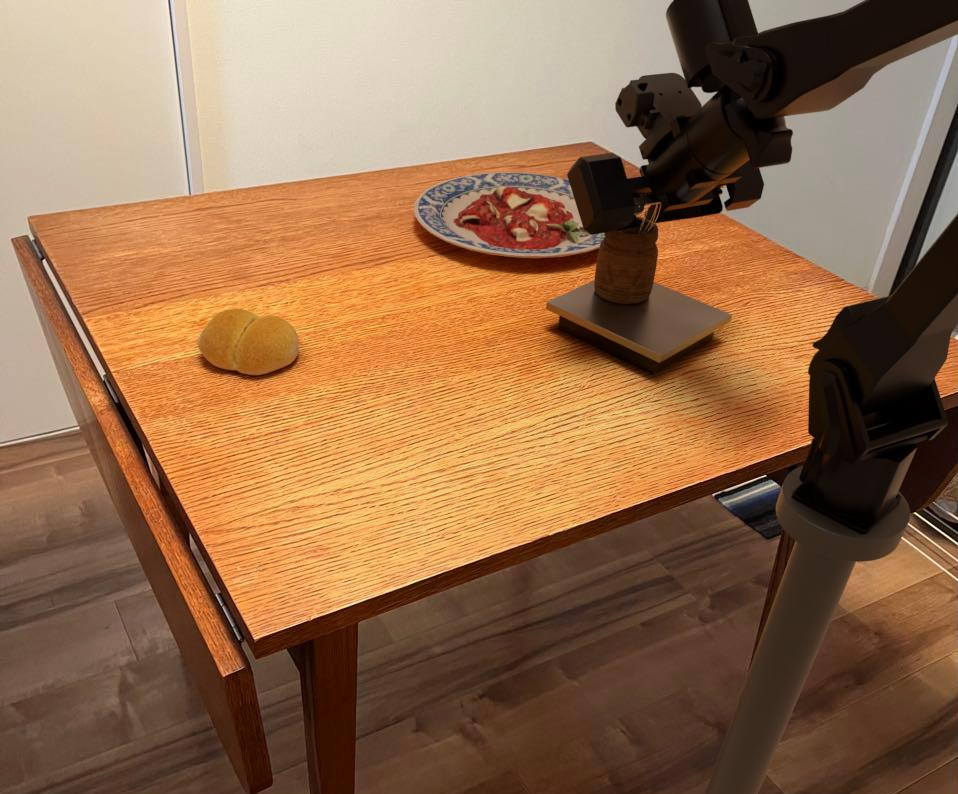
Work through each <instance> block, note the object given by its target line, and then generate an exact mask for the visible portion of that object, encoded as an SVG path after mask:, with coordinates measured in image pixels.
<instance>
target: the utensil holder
mask: <svg viewBox="0 0 958 794" xmlns="http://www.w3.org/2000/svg"><path fill="white" fill-rule="evenodd" d="M622 163H623V166H624V170H625V171H626V166H625V165H626V164H625V161H624V160H622ZM657 205H658V204H657ZM657 205H656V207H657ZM645 207H646V208H645V211H644V213H645V212H646V211H648V210H647V209H648V208H649V207H650V205H648V206H645ZM660 207H661V205H660ZM655 210H657V208H655ZM659 211H660V209H659ZM654 213H655V214H656V212H655V211H654ZM646 214H647V213H646ZM658 214H659V213H658ZM653 215H654V214H653ZM644 216H645V214H643V217H642V216H638V215H636V217H637V220H638V224H639V228H635V229H629V230H623V231H618V232H605V233H604V235H605V238H604V239H603V240H602V242H601V244H600V246H599V248H598V249H597V250H598V251H597V257H596V263H595V272H594V273H595V274H594V287H595V291H596V293H597V294H598V295H599V296H600V297H601V298H603V299H605V300H607V301H610V302H614V303H619V304H636V303H640V302H642V301H644V300H646V299H647V298H648V297H649V296H650V294H651V291H652V287H653V283H654V282H655V278H656V273H657V272H656V271H657V265H658V258H659V249H658V245H657V244H656V243H657V242H658V239H659V227H658V225H657V223H655V222H656V221H655V222H652V221H651V220H648V219H645V218H646V216H645V217H644ZM652 217H653V216H652ZM654 217H655V216H654ZM657 217H658V216H657ZM651 219H652V218H651ZM653 220H654V219H653ZM656 220H657V218H656Z"/></svg>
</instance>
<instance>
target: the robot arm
mask: <svg viewBox="0 0 958 794" xmlns="http://www.w3.org/2000/svg"><path fill="white" fill-rule="evenodd" d="M665 19H666V23H667V25H668V28H669V32H670V35H671V39H672V42H673V45H674V48H675V52H676V55H677V58H678V62H679V65H680V67H681V71H682V75H683V76H682V75H681V74H679V73H676V72H666V73H665V72H664V73H656V74H646V75H641V76H640V77H639V78H638V79H631V80H629V83H628V84H627V85H626V86H625V87H622V88H621V90H620V91H619V93H618V96H617V99H616V101H615V103H614V106H615V108H614V109H615V112H616V114H617V115H618V117H619V118H620V120H621V121H622V123H623V125H624V127H625V128H635V127H636V128H637V130H638V131H639V133H640V134H641V136H642V138H644V140H643V142H641V143H640V145H638V149H639V153H640V156H641V158H642V160H647V163H648V164H642V165H641V166H640V167H639V168H638V171H639V174H640V176H635V177H629V178H628V176H627V173H626V169H625V170H624V166H623V163H622V161H623V160H622V157H621V156H619V155H618V154H616V153H614V152H607V153H600V154H599V153H598V154H592V155H584V156H579V157H578V159H576V160H575V162H574V163H573V164H572V165H571V166H570V167H569V169H568V171H567V173H566V176H567V179H568V180H569V183H570V186H571V189H572V193H573V196H574V199H575V202H576V206H577V209H578V212H579V215H580V219H581V222H582V225H583V228H584V230H585V231H586V232H588V233H589V234H591V235H594V234H600V233H605V232H618V231H623V230H629V229H635V228H639V224H638V220H637V217H638V216H639V215H641V214H642V213H643V212H644V214H645V216H646V218H645V216H644V214H643V217H644V218H645V219H648V220H651V221H652V222H655V221H656V222H655V224H661V223H667V222H674V221H675V222H676V221H680V220H681V221H683V220H690V219H696V218H703V217H708V216H714V215H719V214H721V213H722V212H723V209H724V208H725V211H726V212H729V211H736V210H741V209H747V208H750V207H751V206H753V205H754V204H755V203H757V202H758V201H759V200H761V199H762V195H763V192H764V187H765V181H764V178H763V175H762V172H761V169H762V168H767V167H774V166H780V165H786V164H789V163H790V162H791V160H792V154H793V146H792V138H793V136H794V135H793V134H794V131H793V129H791V128H788V127H787V123H786V119H785V117H791V116H799V115H805V114H813V113H821V112H828V111H831V110H832V109H835V108H836V107H837V106H839V105H841V104H842V103H844V102H845V101H846V100H848V99H850V98H851V97H852V96H854V95H855V94H857V93H858V92H859V91H861V90H863V89H864V88H865V87H866V85H867V84H868V83H869V81H870V80H871V79H872V78H873V76H874V75H875V74H876V73H878V72H880V71H881V70H883V69H884V68H885V67H887V66H888V65H891V64H893V63H896V62H897V61H900V60H902V59H904V58H907V57H909V56H911V55H914V54H916V53H918V52H921V51H922V50H925V49H927V48H930V47H932V46H935V45H937V44H940V43H942V42H944V41H946V40H949V39H951V38H953V37H955V36H958V0H862V1H861V2H859V3H857V4H855V5H853V6H851V7H849V8H848V9H845V10H843V11H840V12H836V13H832V14H828V15H824V16H819V17H815V18H814V17H813V18H809V19H805V20H798V21H794V22H791V23H787V24H784V25H783V24H782V25H780V26H776V27H773V28H769V29H766V30H762V31H760V32H759V31H758V28H757V25H756V22H755V18H754V15H753V12H752V9H751V5H750V2H749V0H673V1H671V2H670V4H669V5H668V7H666V12H665ZM692 88H701V90H702V92H703V93H706V94H713V93H715V94H713V95H712V97H710V98H709V99H708V101H706V102H705V103H704V104H703V105H702V103H701V101H700V100H699V98H698V96H697V95H696V94H695V92H694V91H693V89H692ZM760 168H761V169H760ZM725 187H726V190H727V193H728V197H729V198H728V199H726V200H725V201H723V202H722V199H721V195H722V194H723V192H724V191H723V189H724V188H725ZM657 204H658V205H657ZM656 205H657V207H656ZM660 205H661V207H660ZM723 205H724V206H723ZM648 206H649V208H648ZM645 207H647V209H646V210H645ZM655 208H657V210H655ZM659 209H660V211H659ZM644 210H645V211H646V212H645V211H644ZM647 210H648V211H647ZM654 211H655V212H656V214H655V213H654ZM646 213H647V214H646ZM658 213H659V214H658ZM653 214H654V215H653ZM636 215H637V217H636ZM652 216H653V217H652ZM654 216H655V217H654ZM657 216H658V217H657ZM651 218H652V219H651ZM656 218H657V220H656ZM653 219H654V220H653ZM906 275H907V276H906V277H905V278H904V279H903V280H902V281H901V283H900V284H899V285H898V286H897V288H896V289H895V290H894V292H893V293H892V294H890V295H888V296H884V297H880V298H875V299H870V300H867V301H862V302H857V303H853V304H850V305H846V306H844V307H843V308H841V310H840V311H839V312H838V313H837V314H836V316H835V317H834V319H833V321H832V323H831V325H830V327H829V328H828V330H827V332H826V333H825V334H824V335H823V336H822V337H821V338H820V339H818V340H816V341H814V342H813V343H812V347H813V349H817V351H816V352H815V353H814V355H813V356H812V358H811V360H810V362H809V366H808V369H807V374H808V375H809V380H808V418H807V419H808V420H807V433H808V435H809V436H811V437H812V439H811V442H810V444H809V447H808V450H807V453H806V456H805V459H804V462H803V465H802V466H803V468H802V471H801V474H800V477H799V478H800V481H801V482H803V483H802V484H801V485H800V486H799V487H798V488H796V489H795V490H794V491H793V493H792V498H793V499H794V500H796V501H798V502H799V503H801V504H803V505H805V506H807V507H809V508H811V509H813V510H815V511H817V512H819V513H821V514H822V515H824V516H826V517H828V518H830V519H832V520H834V521H836V522H838V523H840V524H842V525H844V526H846V527H847V528H849V529H851V530H853V531H855V532H857V533H859V534H863V535H864V534H867V533H869V532H870V531H871V530H872V529H873V528H874V527H875V526H876V525H877V524H878V523H879V522H880V521H881V520H882V519H883V518H884V517H885V516H886V515H887V514H888V513H890V512H891V511H892V510H893V509H894V508H895V507H896V506H897V505H898V504H899V503H900V501H901V499H902V497H901V495H900V494H898V491H899V492H900V489H901V486H902V484H903V481H904V480H905V477H906V475H907V472H908V470H909V468H910V465H911V463H912V460H913V458H914V457H915V454H916V452H917V449H918V445H917V443H920V442H923V441H931V440H933V439H935V438H936V437H937V436H938V435H939V434H940V433H941V432H942V431H943V430H944V429H945V428H946V427H947V426H948V425H949V420H948V415H947V413H946V410H945V407H944V404H943V401H942V396H941V394H940V390H939V387H938V384H937V381H936V376H937V375H938V374H939V372H940V370H941V369H942V367H943V366H944V365H945V363H946V361H947V359H948V355H949V349H950V343H951V337H952V334H953V332H954V330H955V329H956V327H958V212H957V213H956V215H954V216H953V219H951V221H950V222H949V223H948V224H947V226H946V227H945V228H944V229H943V231H941V233H940V234H939V236H938V237H937V238H935V241H934V242H933V243H932V244H931V245H930V247H929V248H928V249H927V250H926V252H924V254H923V256H922V257H921V258H920V259H919V261H918V262H917V263H916V264H915V266H914V267H913V268H912V269H911V270H910V272H909V273H908V274H906Z"/></svg>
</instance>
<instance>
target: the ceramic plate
mask: <svg viewBox="0 0 958 794" xmlns="http://www.w3.org/2000/svg"><path fill="white" fill-rule="evenodd" d="M413 205H414V206H413V211H414V216H415V218H416V220H417V222H418V223H419V224H420V226H421V227H422V228H423V229H424V230H426V231H427V232H428V233H429V234H431V235H432V236H435V237H436V238H438V239H440V240H442V241H444V242H446V243H448V244H451V245H453V246H457V247H459V248H462V249H465V250H468V251H472V252H476V253H477V252H478V253H482V254H486V255H492V256H500V257H507V258H508V257H509V258H521V259H546V258H563V257H569V256H575V255H579V254H580V255H581V254H584V253H588V252H592V251H595V250H599V246H600V244H601V242H602V240H603V239H604V238H605V235H604V233H600V234H594V235H591V234H589V233H588V232H586V231H585V230H584V228H583V225H582V222H581V219H580V215H579V212H578V209H577V206H576V202H575V199H574V196H573V193H572V189H571V186H570V183H569V180H568V178H563V177H559V176H554V175H549V174H540V173H532V172H531V173H530V172H514V171H513V172H512V171H511V172H510V171H509V172H508V171H507V172H506V171H499V172H496V171H495V172H484V173H483V172H482V173H474V174H468V175H467V174H466V175H463V176H458V177H454V178H449V179H447V180H444V181H440V182H439V183H436V184H434V185H432V186H430V187H429V188H426V190H424V191H423V192H421V194H420V195H419V196H418V197H417V199H416V200H415V202H414V204H413Z"/></svg>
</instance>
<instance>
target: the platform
mask: <svg viewBox="0 0 958 794" xmlns="http://www.w3.org/2000/svg"><path fill="white" fill-rule="evenodd" d="M594 280H595V279H594ZM594 280H592V281H591V280H590V281H589V282H586V283H584V284H583V285H581V286H579V287H575V288H574V289H572V290H569V291H567V292H565V293H563V294H561V295H558V296H557V297H555V298H552V299H550V300H548V301H546V305H545V309H546V310H547V311H549V312H551V313H554V314H555V315H558V326H557V330H558V331H560V332H562V333H564V334H566V335H569V336H571V337H573V338H575V339H577V340H579V341H580V342H583V343H585V344H586V345H589V346H591V347H593V348H595V349H597V350H599V351H601V352H604V353H606V354H608V355H610V356H612V357H614V358H616V359H618V360H620V361H622V362H624V363H627V364H628V365H630V366H632V367H634V368H636V369H638V370H641V371H643V372H645V373H647V374H649V375H651V376H655V375H657V374H659V373H660V372H662V371H664V370H665V369H667V368H669V367H670V366H673V365H674V364H677V362H679V361H681V360H683V359H684V358H686V357H688V356H690V355H691V354H693V353H694V352H696V351H698V350H701V348H703V347H705V346H707V345H708V344H710V343H711V342H713V338H714V334H715V332H716V331H718V330H719V329H721V328H723V327H725V326H727V325H728V324H730V323H731V321H732V317H733V315H732V314H731V313H729V312H726V311H725V310H723V309H719V308H717V307H715V306H712V305H710V304H707V303H705V302H702V301H700V300H697V299H695V298H693V297H691V296H688V295H686V294H683V293H681V292H679V291H676V290H674V289H672V288H669V287H668V286H667V287H666V286H665V285H662V284H660V283H657V282H655V281H654V283H653V287H652V291H651V294H650V296H649V297H648V298H647V299H646V300H644V301H642V302H640V303H636V304H619V303H614V302H610V301H607V300H605V299H603V298H601V297H600V296H599V295H598V294H597V293H596V291H595V287H594Z"/></svg>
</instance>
